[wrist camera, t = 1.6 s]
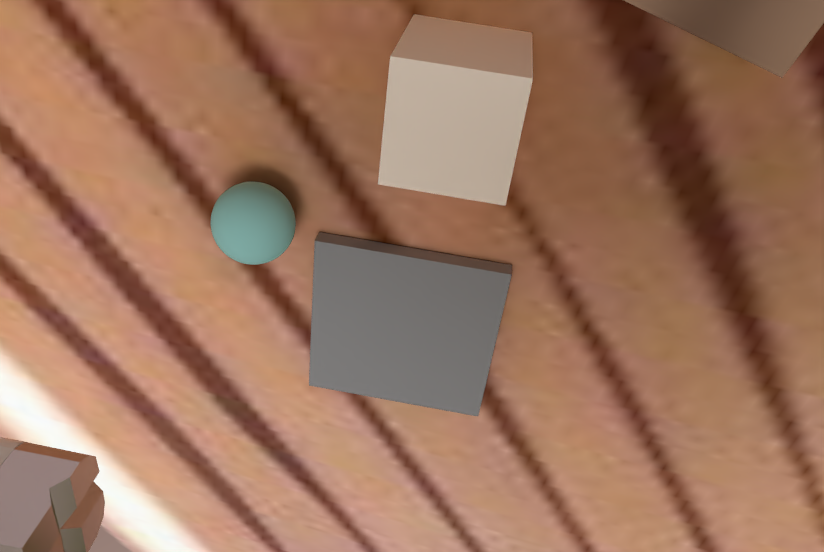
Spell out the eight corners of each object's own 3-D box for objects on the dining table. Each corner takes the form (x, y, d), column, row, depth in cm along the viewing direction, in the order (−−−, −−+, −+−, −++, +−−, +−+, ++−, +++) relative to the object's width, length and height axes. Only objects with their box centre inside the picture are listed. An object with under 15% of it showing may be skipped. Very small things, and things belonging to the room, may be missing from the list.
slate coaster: (511, 265, 32) (511, 274, 31) (478, 405, 37) (478, 416, 36) (319, 231, 32) (314, 240, 32) (312, 375, 37) (309, 385, 37)
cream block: (532, 32, 26) (533, 78, 22) (509, 143, 29) (505, 205, 24) (414, 14, 26) (390, 56, 22) (401, 125, 29) (377, 184, 24)
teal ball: (306, 174, 31) (282, 213, 28) (304, 243, 33) (281, 287, 30) (226, 161, 31) (194, 198, 28) (229, 230, 33) (199, 272, 30)
